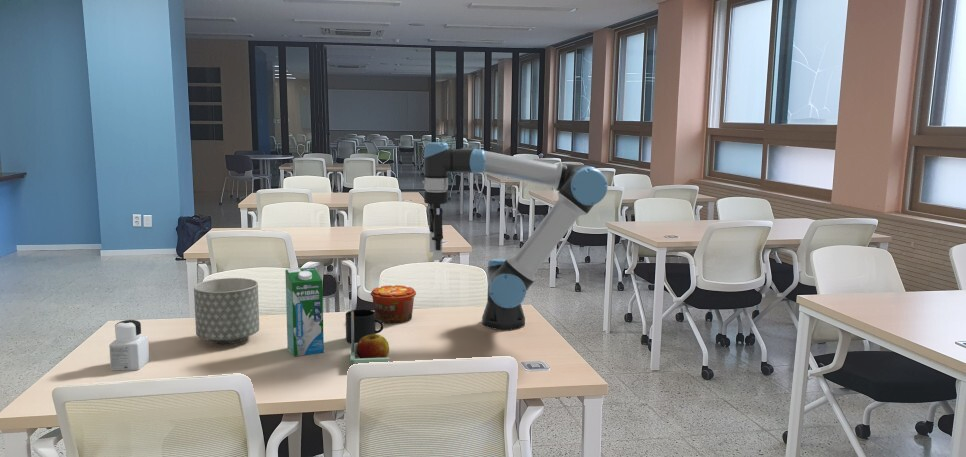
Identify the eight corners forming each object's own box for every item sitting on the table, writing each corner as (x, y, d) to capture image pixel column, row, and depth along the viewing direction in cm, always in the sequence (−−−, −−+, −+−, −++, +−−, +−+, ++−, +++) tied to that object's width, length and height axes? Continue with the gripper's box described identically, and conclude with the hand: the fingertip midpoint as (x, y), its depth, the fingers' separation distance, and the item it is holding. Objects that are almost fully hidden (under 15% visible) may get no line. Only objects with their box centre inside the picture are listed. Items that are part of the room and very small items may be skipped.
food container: (378, 312, 262) (377, 283, 260) (420, 314, 260) (420, 285, 258) (365, 324, 246) (364, 294, 244) (410, 327, 244) (410, 296, 242)
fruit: (350, 364, 206) (350, 338, 205) (365, 355, 215) (365, 329, 213) (380, 369, 203) (380, 342, 202) (394, 359, 211) (394, 333, 210)
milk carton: (294, 356, 212) (291, 275, 208) (287, 348, 220) (285, 269, 216) (323, 352, 216) (322, 272, 212) (316, 344, 224) (314, 266, 220)
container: (122, 361, 206) (119, 318, 204) (149, 360, 207) (147, 317, 205) (110, 370, 198) (107, 325, 196) (139, 370, 199) (136, 325, 197)
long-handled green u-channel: (388, 352, 217) (387, 303, 215) (389, 370, 202) (389, 317, 200) (351, 354, 215) (350, 304, 213) (350, 372, 200) (349, 319, 198)
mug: (381, 345, 224) (381, 317, 223) (343, 344, 224) (343, 316, 223) (385, 336, 233) (385, 309, 232) (348, 335, 233) (348, 308, 232)
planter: (271, 340, 227) (269, 285, 224) (214, 354, 213) (211, 295, 211) (241, 327, 240) (239, 275, 237) (185, 339, 226) (183, 284, 223)
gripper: (421, 187, 239) (421, 248, 243) (427, 195, 215) (427, 263, 218) (443, 186, 241) (443, 248, 244) (452, 195, 216) (451, 263, 220)
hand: (435, 255), depth 231 cm, fingers open, 13 cm apart
